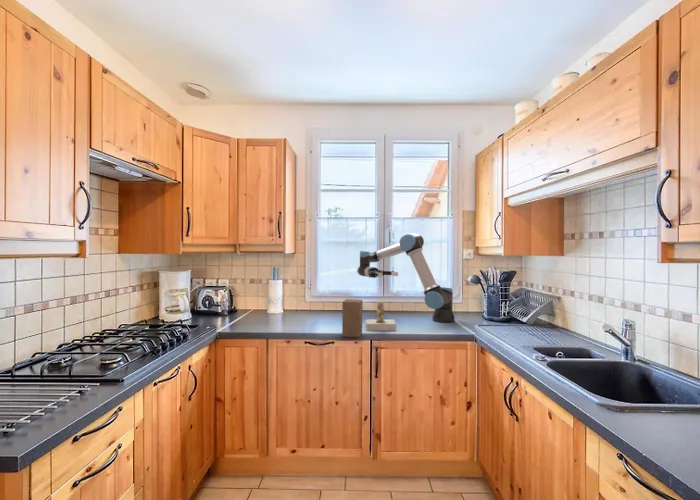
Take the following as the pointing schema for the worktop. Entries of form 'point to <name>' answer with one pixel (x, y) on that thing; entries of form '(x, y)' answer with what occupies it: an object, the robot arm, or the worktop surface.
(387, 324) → the socket block
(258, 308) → the worktop surface
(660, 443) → the worktop surface
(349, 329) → the wooden block
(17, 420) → the worktop surface
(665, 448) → the worktop surface
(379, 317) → the beech leg
